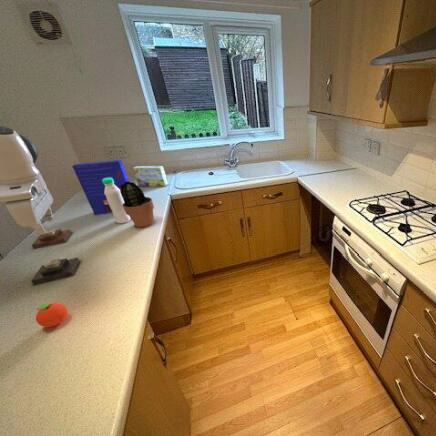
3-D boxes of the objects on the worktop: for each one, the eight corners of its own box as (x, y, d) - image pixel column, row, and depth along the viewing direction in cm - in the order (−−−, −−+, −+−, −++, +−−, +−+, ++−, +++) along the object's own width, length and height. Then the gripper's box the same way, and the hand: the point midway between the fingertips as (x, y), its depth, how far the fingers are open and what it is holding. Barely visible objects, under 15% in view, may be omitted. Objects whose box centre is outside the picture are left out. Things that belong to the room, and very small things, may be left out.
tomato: (33, 329, 73) (21, 313, 70) (57, 311, 79) (46, 295, 76) (55, 333, 72) (42, 317, 69) (77, 314, 78) (66, 299, 75)
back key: (44, 237, 115) (42, 233, 114) (47, 233, 118) (45, 230, 117) (53, 235, 116) (51, 232, 115) (56, 231, 119) (54, 228, 118)
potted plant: (163, 221, 134) (150, 178, 122) (139, 232, 124) (121, 187, 112) (150, 215, 140) (136, 174, 129) (126, 225, 130) (108, 182, 119)
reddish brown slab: (33, 248, 112) (29, 241, 110) (42, 238, 120) (38, 231, 119) (65, 242, 117) (61, 235, 115) (72, 232, 125) (68, 226, 123)
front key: (46, 269, 93) (44, 266, 92) (50, 264, 96) (48, 260, 95) (58, 266, 94) (56, 263, 94) (61, 261, 97) (59, 258, 96)
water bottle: (117, 225, 131) (99, 181, 119) (115, 220, 136) (98, 178, 124) (132, 221, 135) (115, 178, 123) (130, 216, 140) (114, 175, 128)
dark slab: (33, 285, 91) (28, 277, 89) (44, 269, 99) (39, 261, 97) (73, 275, 95) (68, 267, 93) (80, 261, 103) (76, 254, 101)
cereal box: (137, 205, 154) (121, 158, 140) (136, 208, 149) (118, 161, 135) (98, 211, 148) (76, 163, 134) (94, 215, 143) (72, 165, 129)
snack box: (138, 186, 185) (131, 167, 178) (142, 184, 190) (136, 165, 183) (165, 186, 184) (159, 167, 177) (168, 184, 189) (163, 165, 182)
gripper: (21, 177, 76) (42, 215, 83) (-6, 199, 61) (22, 244, 67) (47, 174, 79) (65, 211, 86) (28, 194, 64) (51, 238, 70)
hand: (46, 226), depth 77 cm, fingers open, 8 cm apart
